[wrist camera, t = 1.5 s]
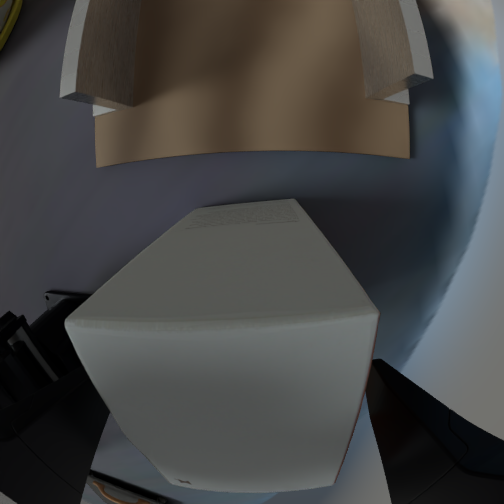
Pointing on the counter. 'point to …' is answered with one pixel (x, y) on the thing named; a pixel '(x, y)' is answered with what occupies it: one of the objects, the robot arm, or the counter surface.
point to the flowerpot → (8, 18)
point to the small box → (233, 350)
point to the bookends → (125, 34)
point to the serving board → (118, 493)
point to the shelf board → (249, 84)
